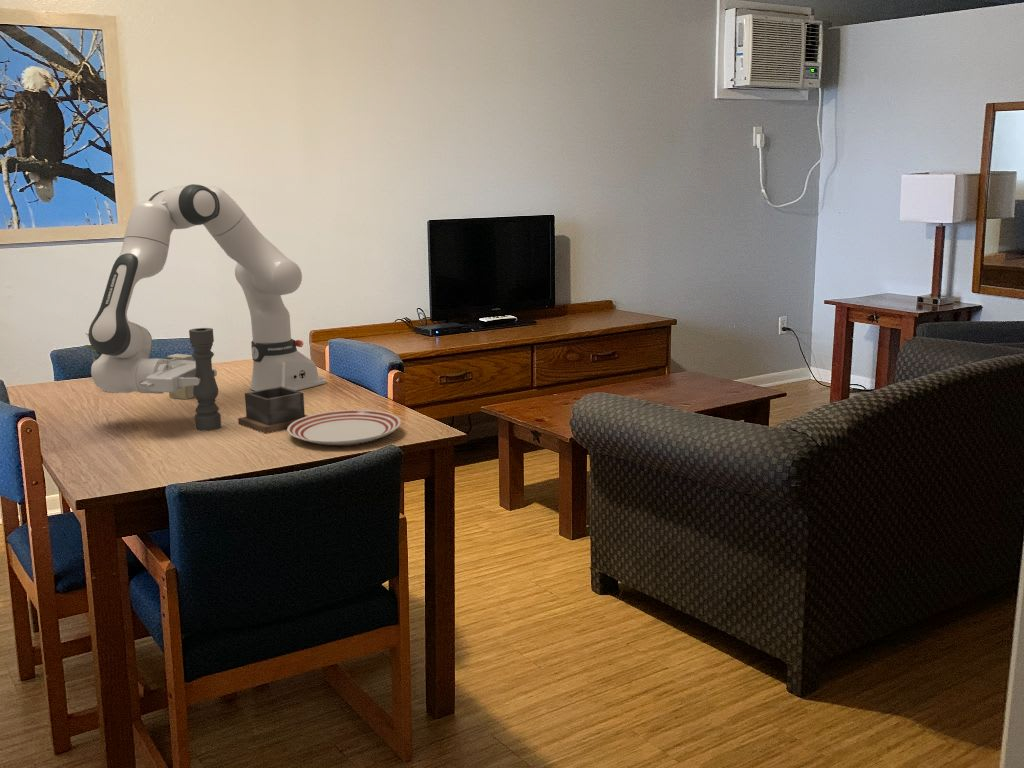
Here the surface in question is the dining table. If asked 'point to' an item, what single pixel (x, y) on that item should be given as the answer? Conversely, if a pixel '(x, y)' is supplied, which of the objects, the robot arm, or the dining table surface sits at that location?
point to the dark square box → (272, 409)
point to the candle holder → (205, 380)
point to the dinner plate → (344, 427)
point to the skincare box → (187, 390)
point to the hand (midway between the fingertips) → (207, 377)
